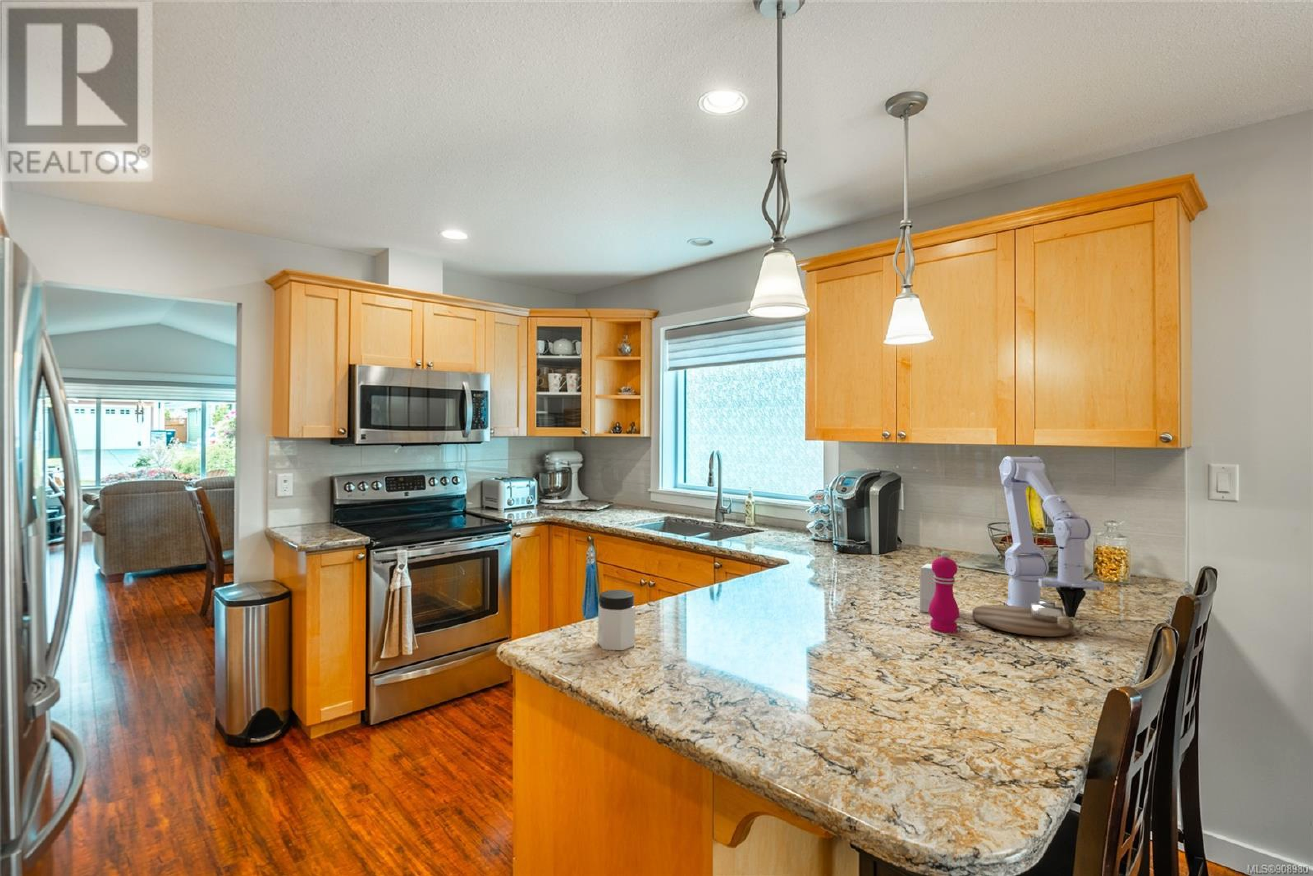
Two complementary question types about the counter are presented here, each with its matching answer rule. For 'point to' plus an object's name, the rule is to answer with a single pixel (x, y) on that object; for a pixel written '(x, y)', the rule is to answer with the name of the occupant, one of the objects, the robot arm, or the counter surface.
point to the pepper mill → (944, 595)
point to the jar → (616, 620)
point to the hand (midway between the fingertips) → (1070, 616)
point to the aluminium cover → (1046, 611)
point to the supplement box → (926, 587)
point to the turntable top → (1020, 621)
